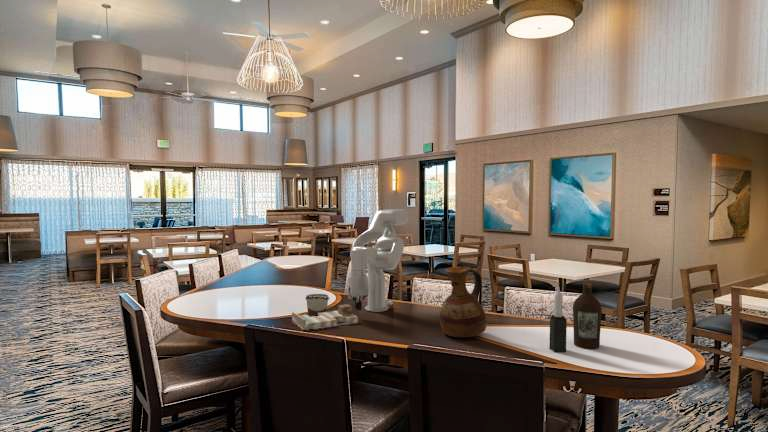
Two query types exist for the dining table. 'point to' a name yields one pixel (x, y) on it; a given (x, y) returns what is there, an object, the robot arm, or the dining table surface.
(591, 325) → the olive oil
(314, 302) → the food container
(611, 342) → the dining table surface
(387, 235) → the robot arm
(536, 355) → the dining table surface
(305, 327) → the trap board
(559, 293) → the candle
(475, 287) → the ceramic pitcher
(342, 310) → the walnut block
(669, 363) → the dining table surface
